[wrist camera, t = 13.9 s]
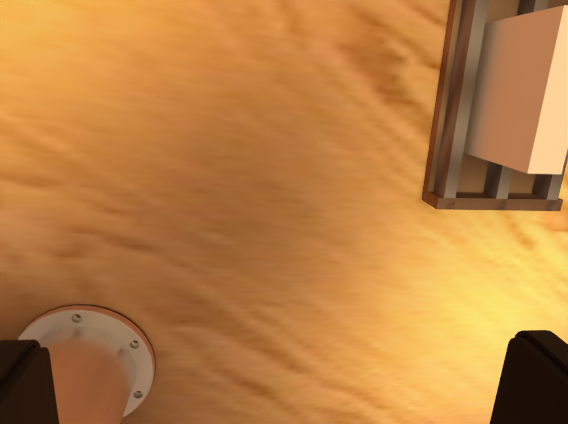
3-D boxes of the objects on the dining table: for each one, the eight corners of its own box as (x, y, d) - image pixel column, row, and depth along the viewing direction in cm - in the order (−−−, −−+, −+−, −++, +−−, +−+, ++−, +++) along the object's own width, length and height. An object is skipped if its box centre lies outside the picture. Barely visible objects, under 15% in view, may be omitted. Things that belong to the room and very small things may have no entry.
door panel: (485, 152, 36) (561, 174, 28) (459, 151, 36) (527, 173, 28) (509, 26, 33) (601, 7, 25) (480, 24, 33) (564, 4, 25)
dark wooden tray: (536, 201, 39) (560, 211, 37) (421, 199, 38) (436, 209, 35) (589, -28, 34) (621, -37, 31) (456, -38, 33) (477, -50, 30)
